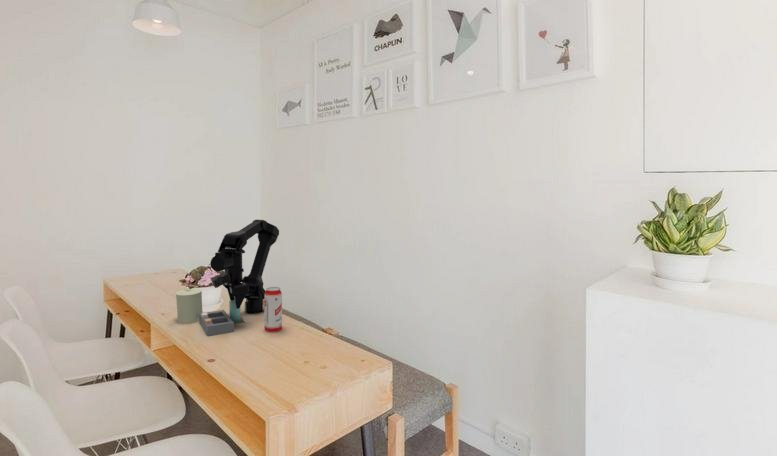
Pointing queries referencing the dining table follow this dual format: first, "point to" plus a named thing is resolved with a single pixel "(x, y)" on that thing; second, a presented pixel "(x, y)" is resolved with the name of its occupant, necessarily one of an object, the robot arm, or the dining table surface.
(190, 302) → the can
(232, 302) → the plug
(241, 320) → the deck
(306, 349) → the dining table surface
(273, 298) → the beer can
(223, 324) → the dock
